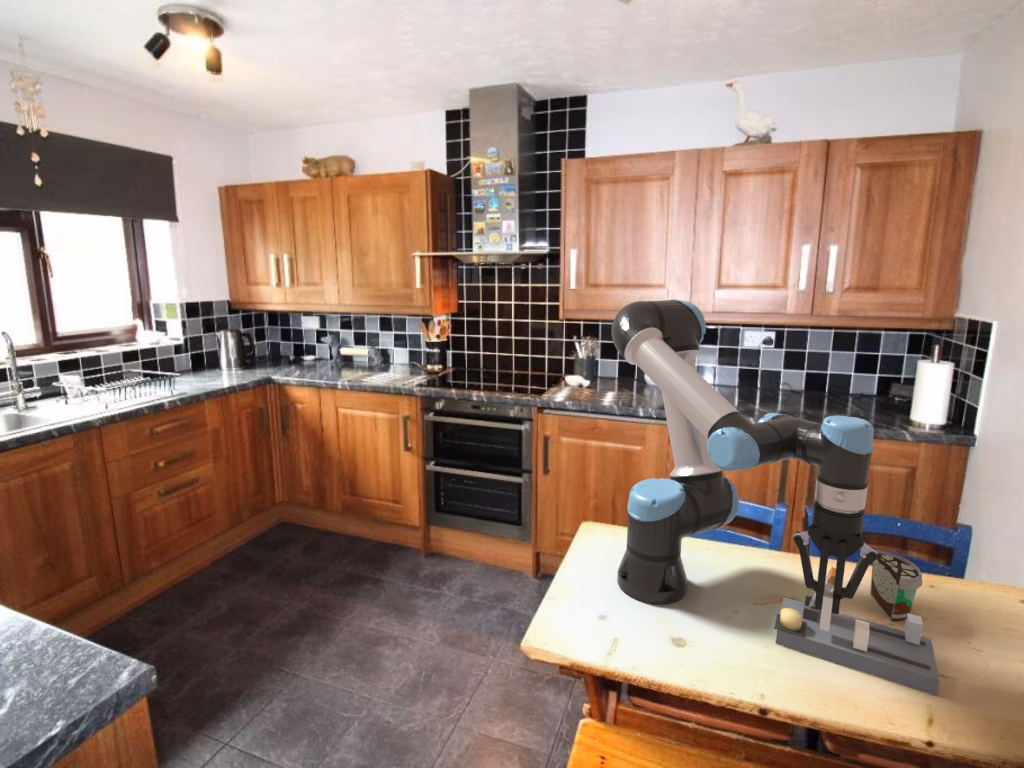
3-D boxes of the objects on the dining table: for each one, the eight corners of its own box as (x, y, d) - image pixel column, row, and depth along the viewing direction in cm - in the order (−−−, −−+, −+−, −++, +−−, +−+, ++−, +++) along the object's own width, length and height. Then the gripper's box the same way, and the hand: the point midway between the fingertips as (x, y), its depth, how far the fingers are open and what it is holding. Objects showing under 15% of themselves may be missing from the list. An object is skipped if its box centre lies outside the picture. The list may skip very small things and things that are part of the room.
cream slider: (853, 647, 94) (855, 627, 93) (853, 638, 96) (855, 619, 95) (866, 651, 93) (869, 631, 92) (866, 642, 95) (869, 622, 94)
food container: (929, 630, 103) (937, 583, 101) (894, 626, 105) (901, 580, 103) (898, 593, 115) (904, 551, 113) (866, 590, 116) (872, 548, 115)
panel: (772, 642, 100) (775, 618, 99) (779, 609, 110) (782, 586, 109) (936, 695, 87) (941, 668, 86) (928, 652, 97) (932, 627, 96)
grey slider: (905, 641, 95) (908, 621, 94) (904, 632, 98) (907, 613, 97) (919, 645, 94) (922, 625, 93) (917, 636, 97) (921, 616, 96)
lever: (805, 612, 103) (831, 575, 99) (806, 603, 106) (832, 566, 102) (813, 617, 102) (839, 580, 98) (814, 607, 105) (839, 570, 102)
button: (778, 626, 100) (779, 615, 99) (781, 616, 102) (782, 605, 102) (800, 632, 98) (801, 622, 97) (802, 622, 101) (803, 612, 100)
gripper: (794, 504, 93) (782, 625, 97) (885, 522, 86) (867, 651, 90) (798, 490, 99) (786, 604, 103) (883, 505, 92) (866, 627, 96)
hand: (824, 626), depth 97 cm, fingers closed
